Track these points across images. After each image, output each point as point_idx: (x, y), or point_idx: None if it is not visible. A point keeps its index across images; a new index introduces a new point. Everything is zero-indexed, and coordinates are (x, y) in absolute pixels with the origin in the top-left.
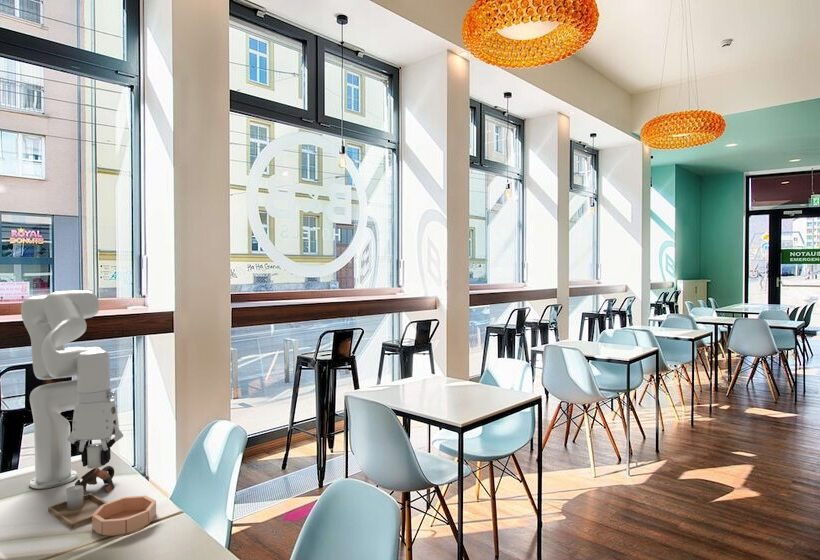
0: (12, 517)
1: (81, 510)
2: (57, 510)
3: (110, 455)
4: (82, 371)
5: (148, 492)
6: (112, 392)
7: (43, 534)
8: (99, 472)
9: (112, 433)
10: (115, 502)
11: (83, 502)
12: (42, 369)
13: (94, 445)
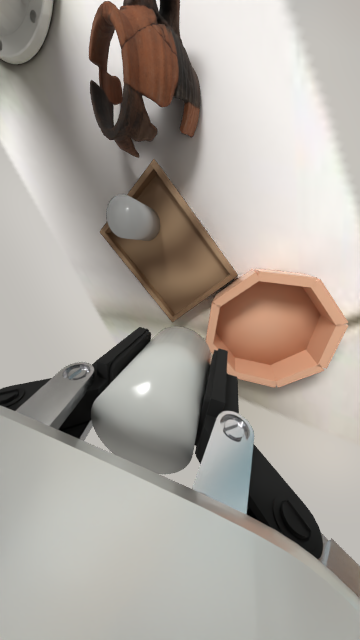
0: (60, 233)
1: (164, 245)
2: None
3: (237, 386)
4: None
5: (308, 140)
6: None
7: (138, 314)
8: (140, 64)
9: (268, 546)
10: (240, 292)
11: (157, 220)
12: None
13: (131, 432)
